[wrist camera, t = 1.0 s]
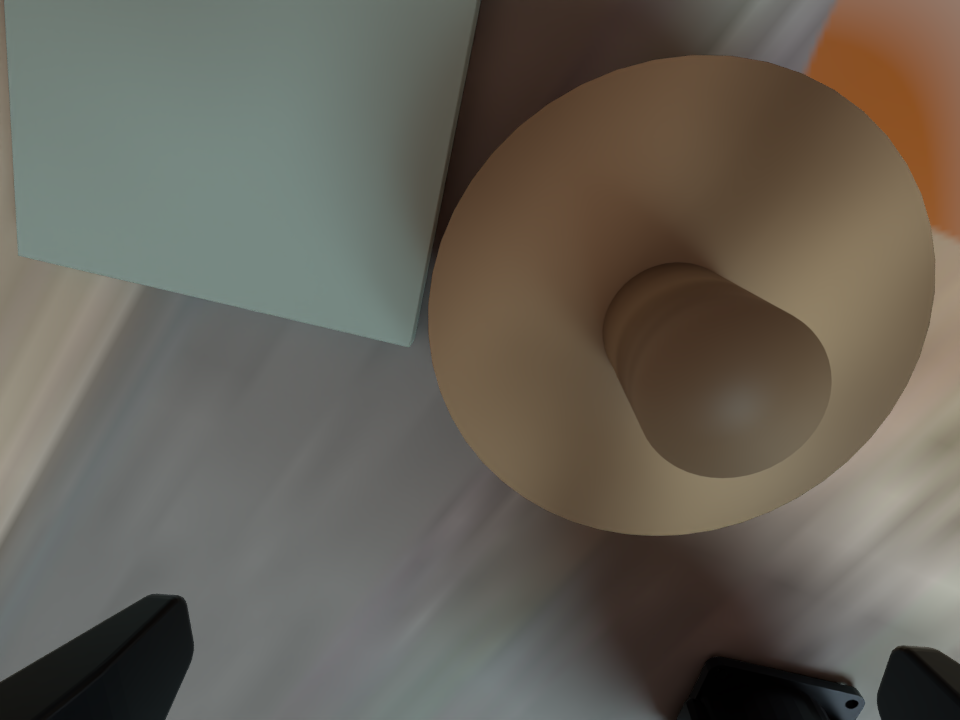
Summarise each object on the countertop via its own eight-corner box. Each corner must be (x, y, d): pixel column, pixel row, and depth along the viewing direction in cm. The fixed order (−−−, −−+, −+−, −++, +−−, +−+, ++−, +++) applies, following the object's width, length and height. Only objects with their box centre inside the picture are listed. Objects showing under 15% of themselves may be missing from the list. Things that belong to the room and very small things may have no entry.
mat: (503, -114, 15) (502, -133, 14) (414, 338, 19) (409, 347, 18) (22, -234, 15) (-11, -261, 14) (42, 251, 19) (18, 255, 18)
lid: (1009, 131, 12) (1299, 112, 8) (791, 557, 16) (899, 711, 12) (489, 4, 12) (474, -93, 7) (397, 465, 16) (349, 586, 11)
